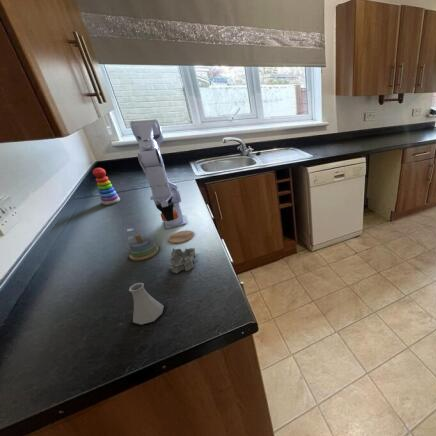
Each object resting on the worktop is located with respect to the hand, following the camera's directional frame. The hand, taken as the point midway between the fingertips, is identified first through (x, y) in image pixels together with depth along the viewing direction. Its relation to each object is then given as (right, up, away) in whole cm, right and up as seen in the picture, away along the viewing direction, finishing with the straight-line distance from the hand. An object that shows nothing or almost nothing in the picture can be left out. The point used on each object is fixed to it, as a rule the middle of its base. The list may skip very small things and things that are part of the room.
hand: (169, 217), depth 104 cm
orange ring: (0, 0, 0) cm, 0 cm away
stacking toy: (-54, +8, +39) cm, 67 cm away
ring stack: (-7, -13, -4) cm, 16 cm away
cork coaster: (+1, -8, +6) cm, 10 cm away
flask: (+12, -27, -30) cm, 42 cm away
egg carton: (+11, -16, -10) cm, 22 cm away
